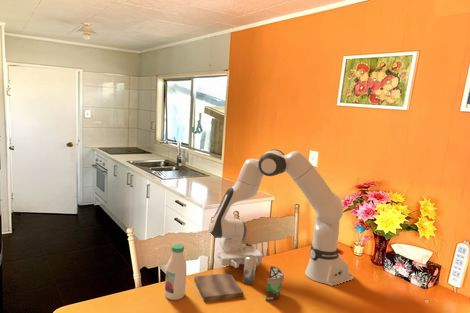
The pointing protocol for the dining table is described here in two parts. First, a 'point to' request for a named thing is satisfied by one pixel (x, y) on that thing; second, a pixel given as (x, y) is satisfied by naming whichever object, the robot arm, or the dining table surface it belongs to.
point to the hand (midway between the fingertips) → (247, 265)
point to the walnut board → (218, 287)
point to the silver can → (249, 269)
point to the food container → (274, 283)
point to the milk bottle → (176, 274)
